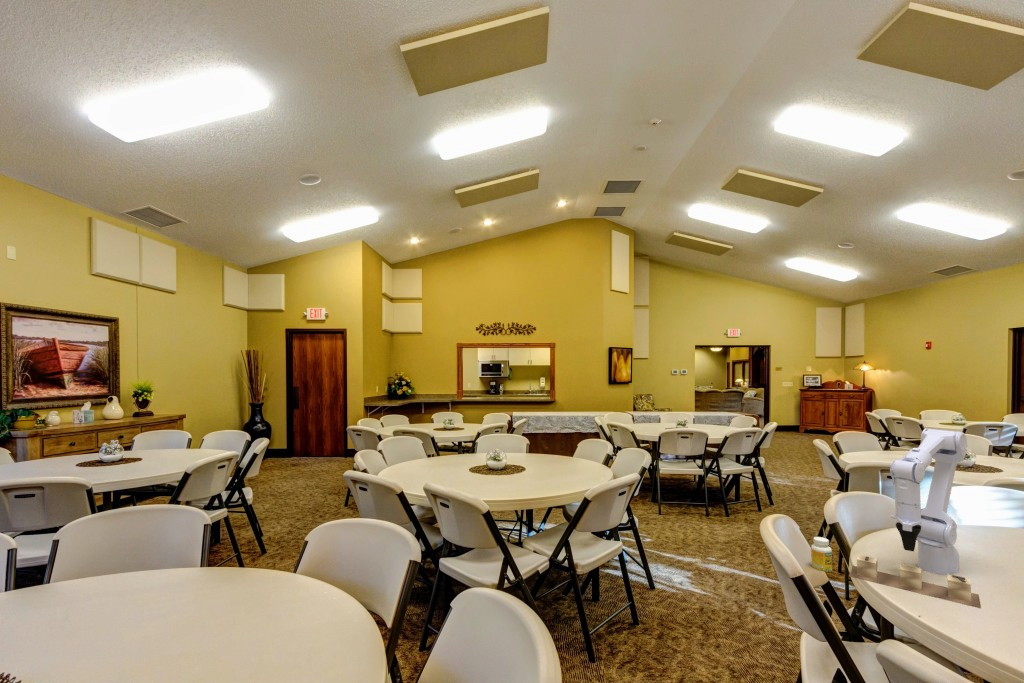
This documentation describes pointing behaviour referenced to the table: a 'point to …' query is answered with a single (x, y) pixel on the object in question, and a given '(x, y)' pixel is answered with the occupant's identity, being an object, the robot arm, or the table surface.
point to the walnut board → (925, 590)
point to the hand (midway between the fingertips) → (909, 550)
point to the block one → (867, 566)
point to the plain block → (910, 577)
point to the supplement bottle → (821, 554)
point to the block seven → (959, 588)
